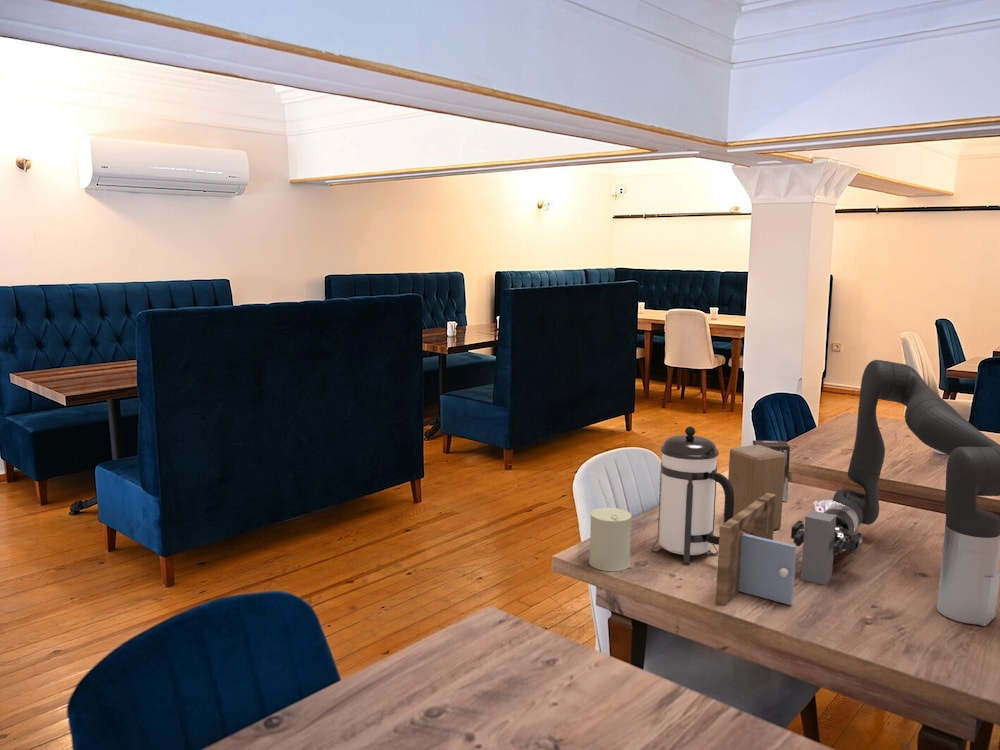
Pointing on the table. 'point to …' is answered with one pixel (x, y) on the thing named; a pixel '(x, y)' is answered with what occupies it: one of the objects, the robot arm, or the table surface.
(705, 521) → the coffee press
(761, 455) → the wooden block
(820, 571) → the grey rectangular block
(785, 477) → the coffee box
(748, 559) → the door
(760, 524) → the door frame
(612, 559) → the can
